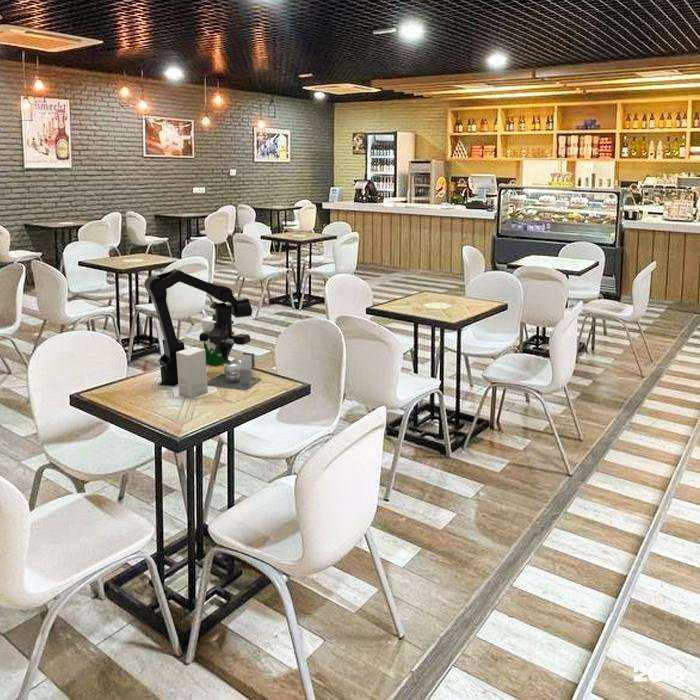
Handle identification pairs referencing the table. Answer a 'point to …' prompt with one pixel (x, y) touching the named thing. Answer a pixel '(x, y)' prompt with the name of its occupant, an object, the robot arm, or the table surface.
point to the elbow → (239, 363)
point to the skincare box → (192, 372)
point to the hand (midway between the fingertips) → (225, 359)
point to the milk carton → (211, 344)
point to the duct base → (230, 384)
